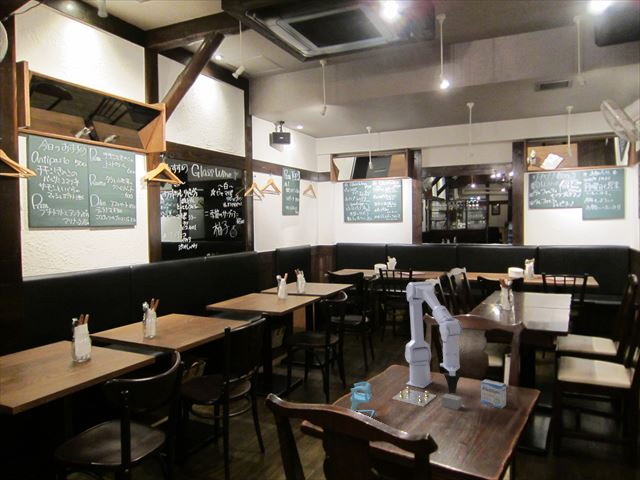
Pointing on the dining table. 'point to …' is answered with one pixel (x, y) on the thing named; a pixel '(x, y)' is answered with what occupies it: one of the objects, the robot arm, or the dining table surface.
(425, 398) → the plate with brass knobs
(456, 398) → the plain grey block
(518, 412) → the dining table surface
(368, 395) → the chair
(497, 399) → the medicine box
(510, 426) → the dining table surface
